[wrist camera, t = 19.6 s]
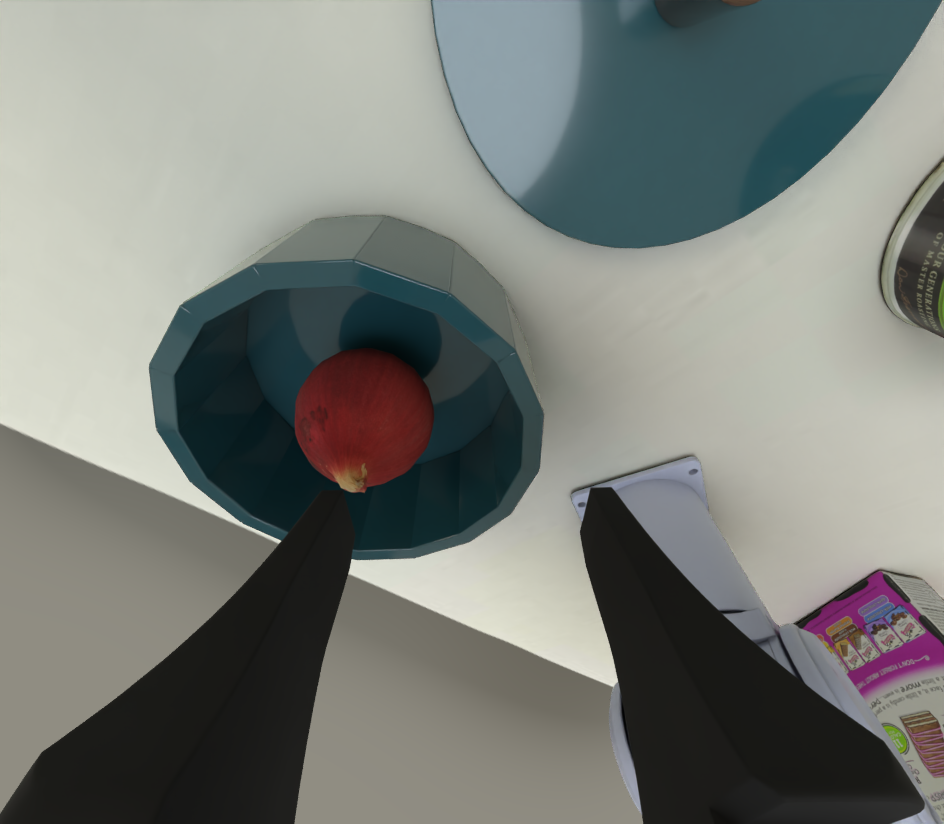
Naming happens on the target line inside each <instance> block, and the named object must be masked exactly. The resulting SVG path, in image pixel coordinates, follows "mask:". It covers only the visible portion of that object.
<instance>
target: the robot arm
mask: <svg viewBox="0 0 944 824" xmlns="http://www.w3.org/2000/svg"><path fill="white" fill-rule="evenodd" d="M571 499H572V503H573V505H574V507H575V509H576V511H577V513H578V515H579V517H580V519H581V522H582V525H581V530H580V535H581V541H582V547H583V553H584V558H585V563H586V567H587V571H588V574H589V578H590V581H591V584H592V588H593V591H594V594H595V598H596V601H597V604H598V608H599V611H600V614H601V617H602V621H603V624H604V627H605V631H606V634H607V637H608V640H609V644H610V648H611V652H612V655H613V659H614V664H615V668H616V673H617V678H618V682H617V683H616V684H615V686H614V688H613V690H612V694H611V700H610V709H609V726H610V735H611V741H612V745H613V750H614V754H615V757H616V760H617V764H618V767H619V770H620V772H621V775H622V778H623V780H624V783H625V785H626V787H627V790H628V792H629V794H630V796H631V798H632V800H633V802H634V803H635V805H636V807H637V809H638V810H639V812H640V813H641V815H642V818H643V824H944V823H943V822H942V820H941V818H940V817H939V815H938V813H937V812H936V810H935V809H934V807H933V806H932V804H931V803H930V801H929V800H928V799H927V797H926V796H925V794H924V793H923V791H922V790H921V788H920V786H919V784H918V783H917V781H916V779H915V777H914V775H913V774H912V772H911V770H910V768H909V767H908V765H907V764H906V762H905V760H904V759H903V757H902V755H901V754H900V752H899V751H898V749H897V748H896V746H895V744H894V743H893V741H892V740H891V738H890V737H889V735H888V734H887V732H886V731H885V729H884V728H883V726H882V725H881V723H880V722H879V720H878V719H877V717H876V716H875V714H874V713H873V711H872V710H871V708H870V707H869V706H868V704H867V703H866V701H865V700H864V698H863V697H862V695H861V694H860V693H859V691H858V690H857V688H856V687H855V685H854V684H853V683H852V681H851V680H850V678H849V677H848V676H847V674H846V673H845V672H844V670H843V669H842V668H841V666H840V665H839V663H838V662H837V661H836V659H835V658H834V657H833V656H832V654H831V653H830V652H829V650H828V649H827V648H826V647H825V645H824V644H823V643H822V642H821V641H820V640H819V638H818V637H817V636H816V635H815V634H813V633H811V632H808V631H806V630H803V629H800V628H799V627H798V626H796V625H794V624H787V625H784V626H781V627H779V626H778V625H777V624H776V623H775V622H774V621H773V619H772V617H771V616H770V614H769V612H768V611H767V609H766V607H765V606H764V604H763V602H762V601H761V599H760V597H759V596H758V594H757V592H756V591H755V589H754V587H753V586H752V584H751V582H750V581H749V579H748V577H747V576H746V574H745V572H744V571H743V569H742V567H741V566H740V564H739V562H738V561H737V559H736V557H735V556H734V554H733V552H732V551H731V549H730V547H729V546H728V544H727V542H726V540H725V539H724V537H723V535H722V534H721V532H720V530H719V529H718V527H717V525H716V524H715V522H714V520H713V519H712V517H711V515H710V514H709V509H708V503H707V498H706V492H705V486H704V481H703V475H702V469H701V464H700V462H699V460H698V459H697V458H696V457H687V458H684V459H680V460H677V461H674V462H671V463H667V464H664V465H661V466H657V467H654V468H651V469H648V470H644V471H641V472H638V473H635V474H631V475H628V476H625V477H621V478H618V479H615V480H612V481H608V482H605V483H602V484H598V485H595V486H592V487H589V488H585V489H582V490H579V491H576V492H574V493H573V494H572V495H571ZM580 502H582V503H580ZM354 540H355V531H354V528H353V524H352V520H351V517H350V513H349V510H348V506H347V503H346V499H345V496H344V492H343V490H322V491H321V492H320V493H319V494H318V495H317V497H316V498H315V499H314V500H313V502H312V503H311V504H310V506H309V507H308V508H307V510H306V511H305V512H304V514H303V515H302V516H301V517H300V519H299V520H298V521H297V523H296V524H295V525H294V526H293V528H292V529H291V530H290V531H289V533H288V534H287V535H286V536H285V537H284V539H283V540H282V541H281V542H280V544H279V545H278V546H277V547H276V549H275V550H274V551H273V552H272V553H271V554H270V556H269V557H268V558H267V559H266V560H265V562H263V564H262V565H261V566H260V567H259V568H258V569H257V570H256V571H255V572H254V574H253V575H252V576H251V577H250V578H249V579H248V580H247V581H246V583H244V585H243V586H242V587H241V588H240V589H239V590H238V591H237V592H236V593H235V594H234V595H233V596H232V597H231V598H230V599H229V600H228V601H227V602H226V603H225V604H224V605H223V606H222V607H221V608H220V609H219V610H218V611H217V612H216V613H215V614H214V615H213V616H212V617H211V618H210V619H209V620H208V621H207V622H206V623H204V624H203V625H202V626H201V627H200V628H199V629H198V630H197V631H196V632H195V633H193V634H192V635H191V636H190V637H189V638H188V639H187V640H186V641H185V642H184V643H183V644H181V645H180V646H179V647H178V648H177V649H176V650H175V651H173V652H172V653H171V654H170V655H169V656H168V657H166V658H165V659H164V660H163V661H162V662H160V663H159V664H158V665H157V666H155V667H154V668H153V669H152V670H150V671H149V672H148V673H147V674H146V675H144V676H143V677H142V678H141V679H139V680H138V681H137V682H136V683H134V684H133V685H132V686H131V687H130V688H128V689H127V690H126V691H125V692H123V693H122V694H121V695H120V696H118V697H117V698H116V699H114V700H113V701H112V702H110V703H109V704H108V705H107V706H105V707H104V708H102V709H101V710H100V711H98V712H97V713H96V714H94V715H93V716H91V717H90V718H89V719H87V720H86V721H85V722H83V723H82V724H81V725H79V726H78V727H76V728H75V729H74V730H72V731H71V732H69V733H68V734H67V735H65V736H64V737H63V738H61V739H60V740H59V741H57V742H56V743H54V744H53V745H51V746H50V747H49V748H47V749H46V750H44V751H43V752H42V753H41V754H40V756H39V757H38V759H37V760H36V761H35V763H34V764H33V765H32V767H31V769H30V770H29V771H28V773H27V774H26V776H25V777H24V779H23V780H22V782H21V783H20V785H19V786H18V788H17V789H16V791H15V792H14V794H13V795H12V797H11V798H10V800H9V801H8V803H7V804H6V806H5V807H4V809H3V810H2V812H1V814H0V824H294V822H295V815H296V808H297V801H298V794H299V788H300V781H301V775H302V769H303V763H304V757H305V751H306V745H307V739H308V734H309V729H310V723H311V717H312V712H313V707H314V701H315V696H316V692H317V686H318V682H319V677H320V672H321V667H322V662H323V658H324V654H325V650H326V647H327V643H328V640H329V637H330V633H331V630H332V626H333V623H334V620H335V616H336V613H337V609H338V606H339V602H340V599H341V596H342V593H343V590H344V586H345V583H346V579H347V576H348V572H349V569H350V564H351V558H352V553H353V546H354Z"/></svg>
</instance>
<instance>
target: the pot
mask: <svg viewBox="0 0 944 824" xmlns="http://www.w3.org/2000/svg"><path fill="white" fill-rule="evenodd" d="M362 348H373V349H377V350H380V351H384V352H387V353H391V354H393V355H395V356H396V357H398V358H399V359H401V360H402V361H404V362H405V363H407V364H408V365H410V366H411V367H413V368H414V369H415V370H416V372H417V373H418V374H419V376H420V377H421V378H422V380H423V381H424V383H425V384H426V385H427V387H428V388H429V392H430V396H431V399H432V403H433V407H434V423H433V428H432V433H431V437H430V440H429V443H428V446H427V448H426V449H425V450H424V452H423V453H422V454H421V456H420V457H419V458H418V459H417V461H416V462H415V463H414V465H413V466H412V467H411V468H410V469H409V470H408V471H407V472H406V473H404V474H402V475H400V476H398V477H396V478H394V479H392V480H390V481H388V482H386V483H384V484H380V485H375V486H370V487H367V489H366V491H365V492H356V493H353V492H349V491H346V490H344V489H342V488H341V487H340V485H339V483H336V482H333V481H332V480H330V479H329V478H327V477H326V476H324V475H323V474H321V473H320V472H318V471H317V470H316V469H315V468H314V467H313V466H312V465H311V464H310V462H309V461H308V459H307V457H306V455H305V454H304V452H303V450H302V449H301V447H300V445H299V443H298V440H297V437H296V434H295V405H296V399H297V396H298V393H299V390H300V388H301V387H302V385H303V384H304V382H305V381H306V379H307V378H308V377H309V375H310V374H311V372H312V371H313V370H314V369H315V368H316V367H317V366H318V365H319V364H320V363H321V362H322V361H324V360H326V359H328V358H330V357H331V356H333V355H335V354H337V353H339V352H341V351H346V350H352V349H362ZM149 373H150V382H151V390H152V399H153V407H154V416H155V424H156V428H157V432H158V433H159V435H160V436H161V438H162V439H163V441H164V442H165V444H166V445H167V447H168V449H169V450H170V452H171V453H172V455H173V456H174V458H175V459H176V461H177V463H178V464H179V466H180V467H181V469H182V470H183V472H184V473H185V475H186V476H187V478H188V480H189V481H190V482H191V483H192V484H193V485H195V486H196V487H197V488H198V489H200V490H201V491H202V492H203V493H205V494H206V495H207V496H208V497H210V498H211V499H212V500H213V501H215V502H216V503H217V504H218V505H220V506H221V507H222V508H223V509H225V510H226V511H227V512H229V513H230V514H231V515H232V516H234V517H235V518H236V519H237V520H239V521H240V522H242V523H243V524H245V525H247V526H250V527H252V528H254V529H256V530H259V531H261V532H263V533H265V534H268V535H270V536H272V537H274V538H277V539H279V540H281V541H282V540H283V539H284V537H285V536H286V535H287V534H288V533H289V531H290V530H291V529H292V528H293V526H294V525H295V524H296V523H297V521H298V520H299V519H300V517H301V516H302V515H303V514H304V512H305V511H306V510H307V508H308V507H309V506H310V504H311V503H312V502H313V500H314V499H315V498H316V497H317V495H318V494H319V493H320V492H321V491H322V490H343V492H344V496H345V499H346V503H347V506H348V510H349V513H350V517H351V520H352V524H353V528H354V531H355V540H354V546H353V553H352V558H351V559H355V560H377V559H407V558H416V557H421V556H424V555H428V554H431V553H434V552H438V551H441V550H445V549H448V548H451V547H455V546H458V545H462V544H465V543H467V542H470V541H472V540H473V539H475V538H476V537H478V536H479V535H481V534H482V533H484V532H485V531H487V530H488V529H490V528H491V527H493V526H494V525H496V524H497V523H498V522H500V521H501V520H503V519H504V518H506V517H507V516H509V515H510V514H511V513H512V512H513V510H514V509H515V507H516V506H517V504H518V503H519V501H520V499H521V498H522V496H523V495H524V493H525V492H526V490H527V489H528V487H529V485H530V484H531V482H532V481H533V479H534V478H535V476H536V475H537V473H538V472H539V469H540V461H541V448H542V436H543V423H544V412H543V407H542V403H541V399H540V395H539V391H538V387H537V383H536V379H535V375H534V371H533V367H532V363H531V359H530V356H529V352H528V348H527V344H526V340H525V337H524V335H523V333H522V330H521V328H520V326H519V323H518V321H517V318H516V315H515V312H514V310H513V308H512V307H511V304H510V302H509V300H508V297H507V295H506V293H505V290H504V289H503V287H502V286H501V285H500V284H499V283H498V282H497V281H496V280H495V279H494V278H493V277H492V276H491V275H490V274H489V273H488V272H487V270H486V269H485V268H484V267H483V266H482V265H481V264H480V263H479V262H478V261H477V260H475V259H474V258H473V257H472V256H471V255H469V254H468V253H467V252H466V251H464V250H463V249H462V248H461V247H460V246H459V245H458V244H457V243H455V242H454V241H452V240H449V239H447V238H444V237H443V236H440V235H438V234H436V233H434V232H432V231H430V230H427V229H425V228H423V227H420V226H417V225H414V224H411V223H407V222H404V221H401V220H397V219H394V218H391V217H389V216H387V217H386V216H345V217H336V218H324V219H315V220H312V221H310V222H309V223H307V224H305V225H303V226H301V227H300V228H298V229H296V230H294V231H292V232H290V233H288V234H287V235H285V236H284V237H282V238H280V239H278V240H277V241H275V242H273V243H271V244H269V245H268V246H266V247H264V248H262V249H261V250H259V251H258V252H256V253H255V254H253V255H252V256H250V257H249V258H247V259H246V260H244V261H243V262H242V263H240V264H239V265H237V266H236V267H234V268H233V269H231V270H230V271H228V272H227V273H225V274H224V275H223V276H221V277H220V278H218V279H217V280H215V281H214V282H212V283H211V284H209V285H208V286H207V287H205V288H204V289H202V290H201V291H199V292H198V293H196V294H195V295H193V296H192V297H190V298H189V299H188V300H186V301H185V302H183V304H181V305H180V306H179V308H178V310H177V312H176V314H175V316H174V318H173V319H172V321H171V323H170V325H169V327H168V329H167V331H166V333H165V335H164V337H163V339H162V341H161V343H160V344H159V346H158V348H157V350H156V352H155V354H154V356H153V358H152V360H151V362H150V364H149Z"/></svg>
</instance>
